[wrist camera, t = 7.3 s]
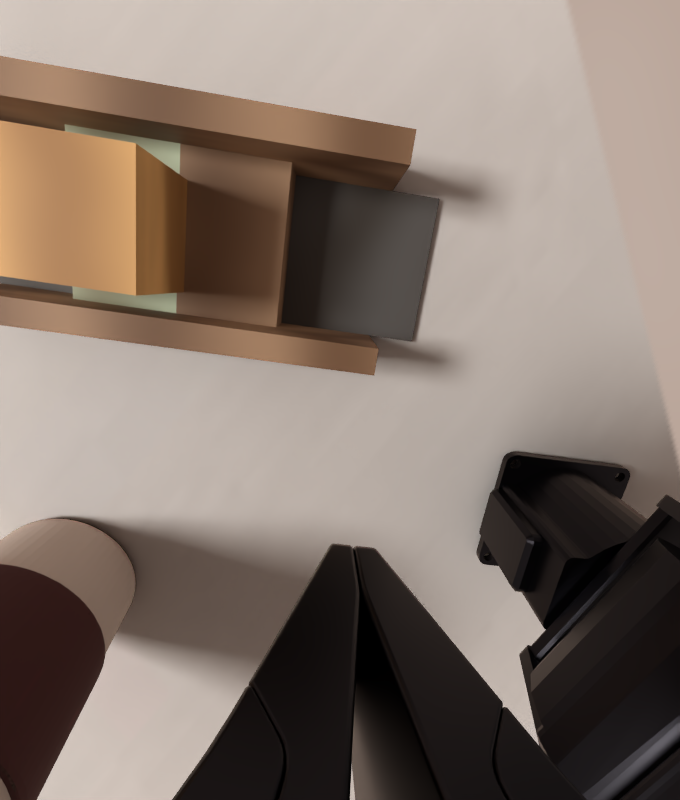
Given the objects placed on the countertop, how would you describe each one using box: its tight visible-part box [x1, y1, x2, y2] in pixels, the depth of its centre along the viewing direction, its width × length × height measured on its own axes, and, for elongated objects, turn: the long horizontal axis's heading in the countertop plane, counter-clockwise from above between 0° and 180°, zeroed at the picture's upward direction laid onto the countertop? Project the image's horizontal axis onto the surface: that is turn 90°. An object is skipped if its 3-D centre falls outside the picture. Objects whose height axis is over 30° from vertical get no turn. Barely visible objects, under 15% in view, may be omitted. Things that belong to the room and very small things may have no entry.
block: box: [0, 120, 187, 296], centre depth 13 cm, size 4×4×4 cm
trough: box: [0, 56, 439, 375], centre depth 15 cm, size 20×8×4 cm, turn 82°
